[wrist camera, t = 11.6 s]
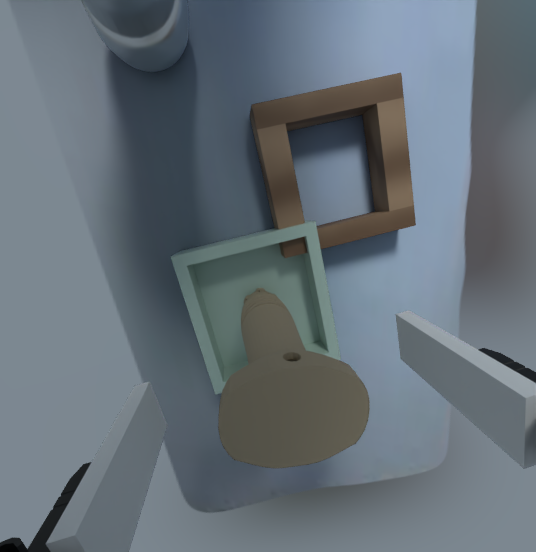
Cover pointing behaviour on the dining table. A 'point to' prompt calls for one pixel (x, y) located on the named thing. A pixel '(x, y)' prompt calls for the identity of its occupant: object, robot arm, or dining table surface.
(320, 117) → the brown wooden frame
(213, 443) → the dining table surface
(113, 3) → the plastic bottle
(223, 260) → the tray
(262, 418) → the handle
